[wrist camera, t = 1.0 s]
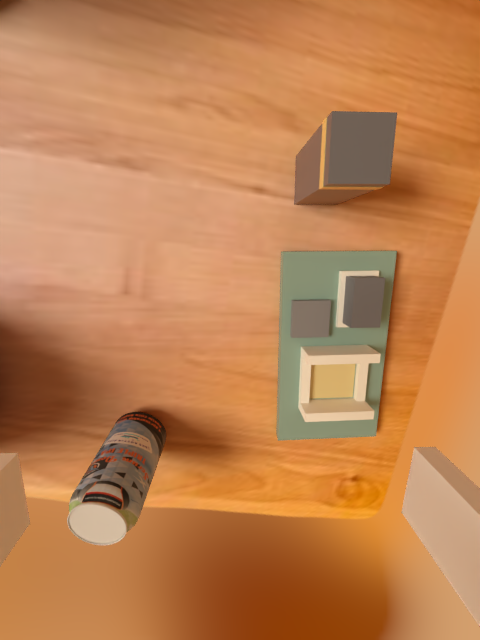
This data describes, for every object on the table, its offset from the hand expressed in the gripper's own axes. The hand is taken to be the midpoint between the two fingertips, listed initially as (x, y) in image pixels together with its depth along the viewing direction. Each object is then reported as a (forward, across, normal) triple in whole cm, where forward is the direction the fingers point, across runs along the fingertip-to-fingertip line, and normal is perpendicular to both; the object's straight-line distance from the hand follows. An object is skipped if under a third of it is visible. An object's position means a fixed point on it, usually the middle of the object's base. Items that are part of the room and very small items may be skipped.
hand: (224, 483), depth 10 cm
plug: (+24, +9, +14) cm, 29 cm away
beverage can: (+24, -10, -14) cm, 29 cm away
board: (+24, +13, -3) cm, 27 cm away
